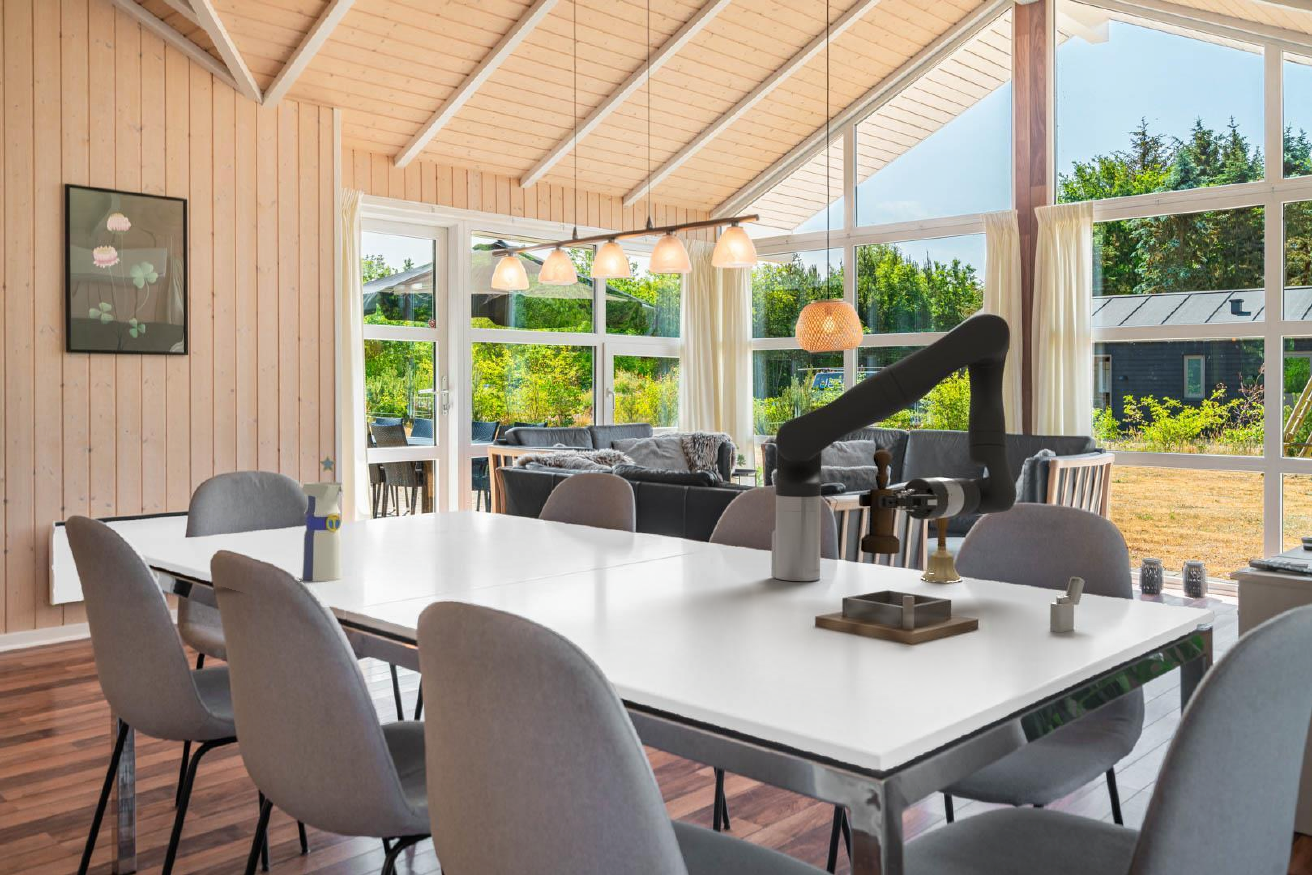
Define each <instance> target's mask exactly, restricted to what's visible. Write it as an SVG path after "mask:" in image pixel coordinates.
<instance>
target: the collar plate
mask: <svg viewBox="0 0 1312 875" xmlns="http://www.w3.org/2000/svg"><path fill="white" fill-rule="evenodd" d="M841 601H842V602H841V604H842V605H841V606H842V608H841V609H842V610H841V611H838V612H833V613H827V614H822V615H815V616H814V626H815V627H819V628H824V629H830V630H836V631H841V632H845V633H850V634H856V635H860V636H861V635H862V636H866V637H872V638H876V639H881V640H887V641H893V642H896V643H897V642H899V643H904V644H909V645H914V644H919V643H924V642H928V641H933V640H936V639H941V638H944V637H948V636H954V635H958V634H963V633H966V632H971V631H975V630H978V629H979V619H978V618H974V617H973V618H972V617H966V616H961V615H953V614H952V599H950V598H949V599H948V598H941V597H935V596H927V595H921V594H915V593H908V592H903V591H902V592H900V591H894V590H882V591H876V592H871V593H870V592H869V593H864V594H858V595H853V596H847V597H845V596H844V597H842V600H841Z"/></svg>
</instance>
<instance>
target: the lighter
mask: <svg viewBox="0 0 1312 875" xmlns="http://www.w3.org/2000/svg"><path fill="white" fill-rule="evenodd" d="M1085 582H1086V581H1085V580H1084V579H1083V578H1081V577H1078V576H1070V579H1069V581H1068V585H1067V586H1068V587H1067V588H1066V593H1065V595H1060V596H1056V599H1055V600H1056V601H1055V602H1050V605H1049V606H1050V610H1049V611H1050V612H1049V618H1050V621H1049V622H1050V623H1049V624H1050V626H1049V627H1050V628H1049V630H1050V632H1054V633H1056V632H1057V633H1063V632H1068V631H1073V630H1074V628H1075V622H1074V620H1075V605H1076V606H1078V605H1079V604H1080V600H1081V598H1082V594H1083V590H1084V585H1085Z"/></svg>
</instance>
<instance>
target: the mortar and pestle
mask: <svg viewBox="0 0 1312 875" xmlns="http://www.w3.org/2000/svg"><path fill="white" fill-rule="evenodd" d="M891 460H892V455H891V453H890V451H889V450H887V449H878V450H876V451H875V452H874V454H873V462H874V464H875V466H876V467H877V468H876V469H877V474H875V476H874V478H875V482H876V486H877V488H876V487H875V488H870V490H869V491H870V506H869V527H868V528H869V530H868V532H869V533H866V534H865V535H864V536H863V537H861V539H860V551H861V552H862V553H868V554H878V555H894V554H895V555H897V554H900V551H901V550H900V547H901V546H900V543H901V542H900V539H898V537H897V536H896V535H893V509H892V508H888V509H881V508H879V506H878V503H879V496H886V495H893V490H892V489H893V488H887V485H888V482H889V475H888V474H887V468H888V466H889V465H890V463H891Z"/></svg>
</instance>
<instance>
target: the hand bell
mask: <svg viewBox="0 0 1312 875" xmlns="http://www.w3.org/2000/svg"><path fill="white" fill-rule="evenodd" d="M934 520H935V527H936V531H937V550H936V551H934V552H932V553H931V554H930V558H929V564H928V567H927V569H926V571H925V572H924V573H923V575H922V576H921V577H923V578H925V580H928V581H935V582H947V581H956V580H959V579H960V578H962V577H961V576H960V575H959V574H958V572H957V571H956V568H955V562H954V556H953V554H952V553H950V552H948V551H947V543H946V542H947V541H946V540H947V539H946V538H947V537H946V535H947V534H946V533H947V529H948V524H949V517H946V518H936V519H934ZM929 573H934V574H929Z"/></svg>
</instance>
